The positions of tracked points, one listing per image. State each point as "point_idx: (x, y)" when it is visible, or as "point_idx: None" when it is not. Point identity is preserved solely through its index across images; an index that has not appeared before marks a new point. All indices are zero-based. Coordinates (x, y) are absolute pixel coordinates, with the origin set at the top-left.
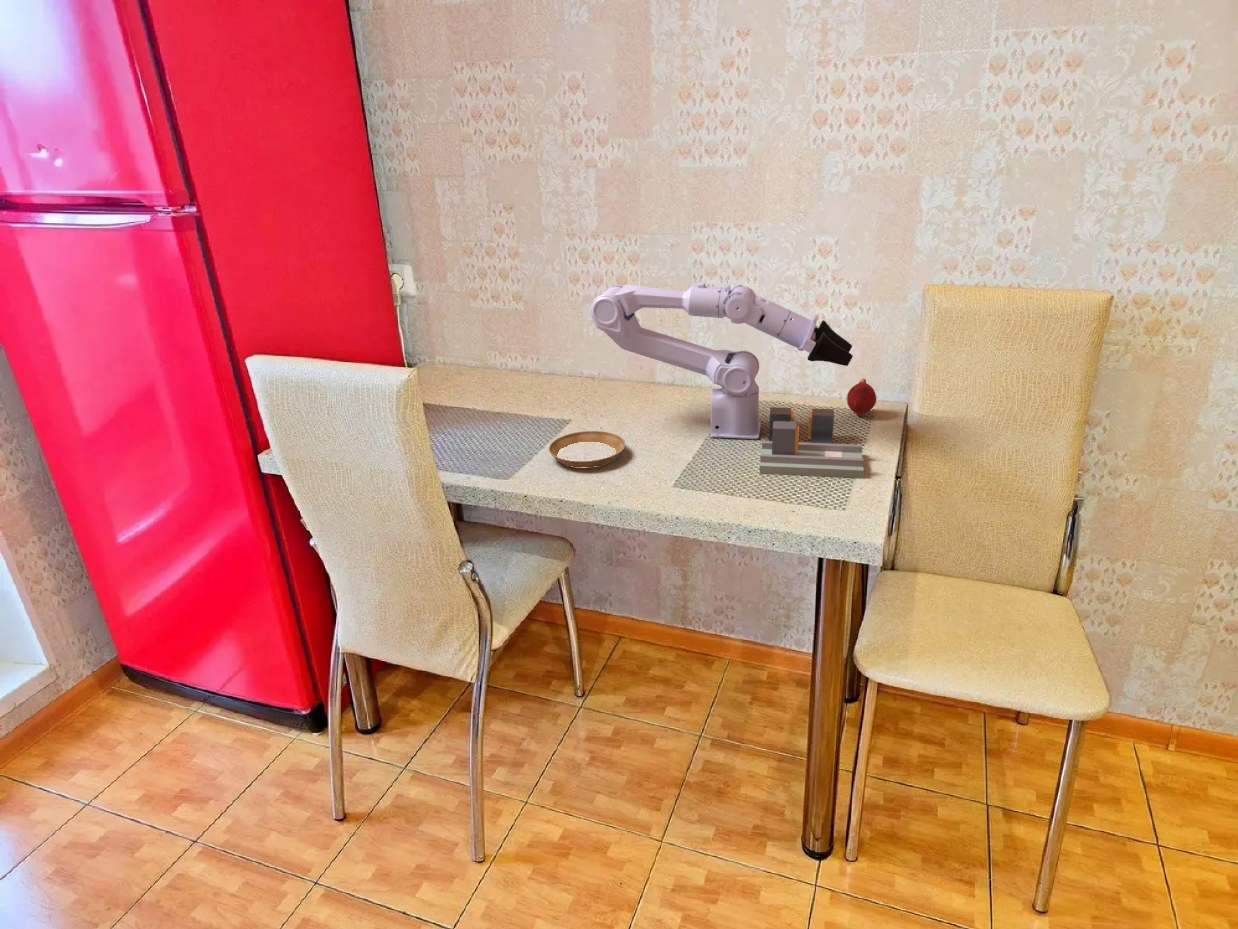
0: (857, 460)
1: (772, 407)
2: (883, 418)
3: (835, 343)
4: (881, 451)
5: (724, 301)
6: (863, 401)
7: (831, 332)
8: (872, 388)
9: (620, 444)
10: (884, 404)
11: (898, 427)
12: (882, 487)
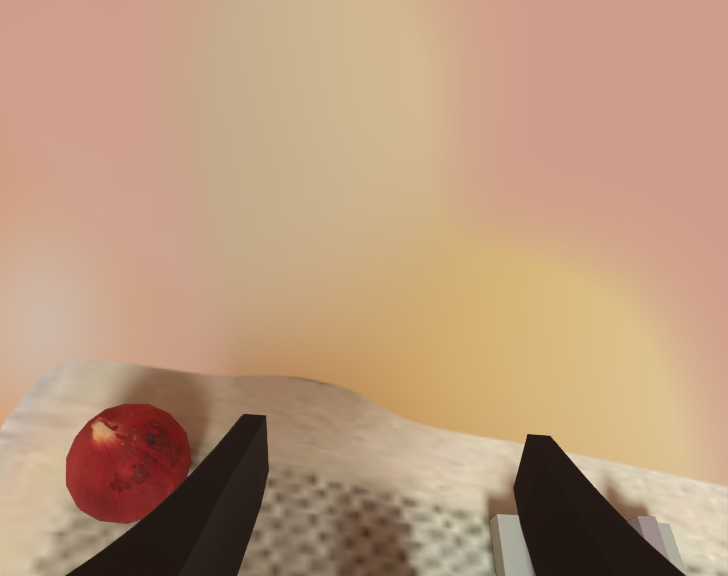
0: (661, 538)
1: None
2: (190, 412)
3: (607, 551)
4: (449, 452)
5: None
6: (184, 457)
7: (193, 565)
8: (133, 406)
9: None
10: (67, 392)
11: (268, 382)
12: (686, 481)
